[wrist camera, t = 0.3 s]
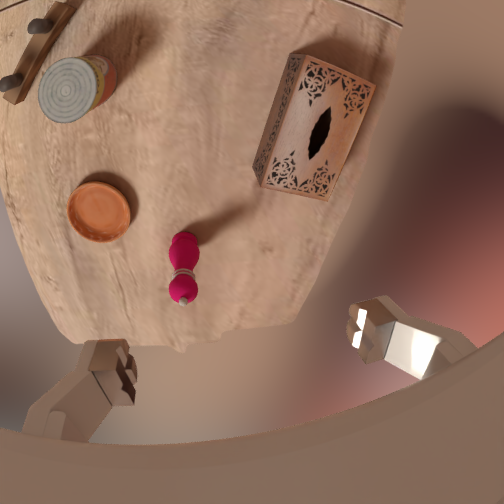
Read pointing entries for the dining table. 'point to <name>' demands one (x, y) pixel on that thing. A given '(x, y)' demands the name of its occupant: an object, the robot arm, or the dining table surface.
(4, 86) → the bench stop
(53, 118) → the canned food
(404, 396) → the robot arm
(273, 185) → the tissue box cover
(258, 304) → the dining table surface
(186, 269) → the pepper mill
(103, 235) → the saucer
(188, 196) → the dining table surface
